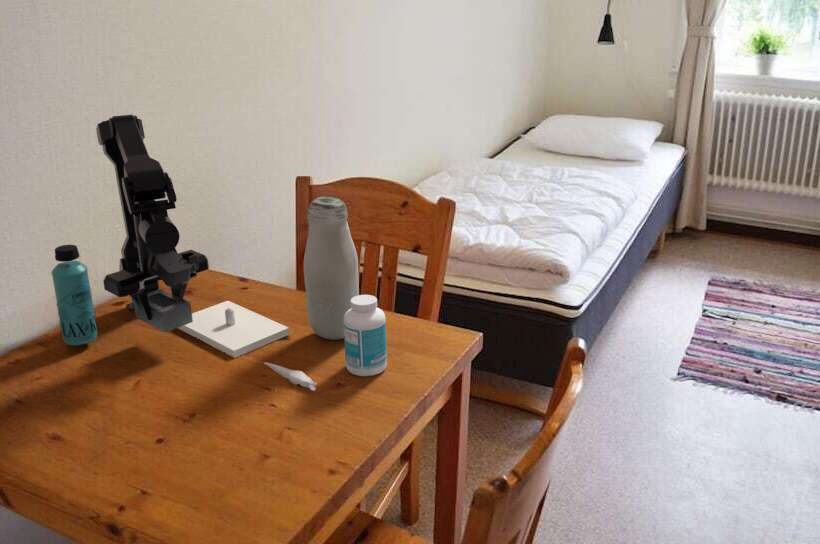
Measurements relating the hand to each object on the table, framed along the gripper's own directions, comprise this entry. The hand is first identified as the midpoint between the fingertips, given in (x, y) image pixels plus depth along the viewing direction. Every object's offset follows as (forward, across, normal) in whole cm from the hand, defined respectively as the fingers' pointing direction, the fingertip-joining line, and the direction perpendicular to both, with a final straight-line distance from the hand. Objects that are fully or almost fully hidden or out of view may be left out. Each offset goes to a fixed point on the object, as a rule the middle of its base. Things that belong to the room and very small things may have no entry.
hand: (163, 314), depth 153 cm
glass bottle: (+7, +24, -21) cm, 33 cm away
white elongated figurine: (+7, +8, -27) cm, 29 cm away
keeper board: (+6, +12, -4) cm, 14 cm away
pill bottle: (+7, +19, -35) cm, 40 cm away
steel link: (+1, 0, 0) cm, 1 cm away
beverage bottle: (+7, -11, +13) cm, 18 cm away
